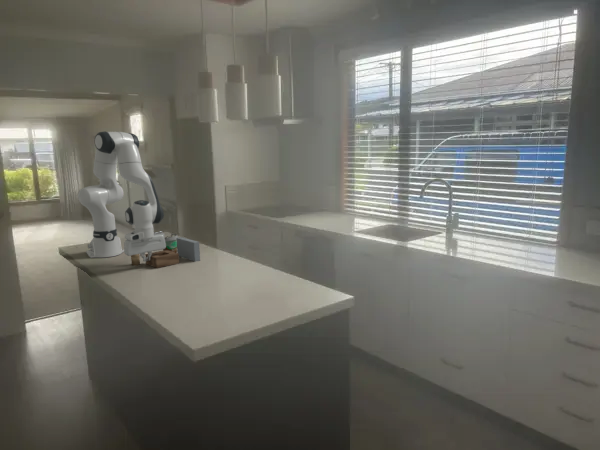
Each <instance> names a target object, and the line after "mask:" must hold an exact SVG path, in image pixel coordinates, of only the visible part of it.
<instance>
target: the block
mask: <svg viewBox="0 0 600 450" xmlns="http://www.w3.org/2000/svg"><path fill="white" fill-rule="evenodd" d="M144 256H145V257H147V256H148V253H145V255H144ZM145 264H146V265H149V266H151V267H154V268H156V269H158V268H159V269H160V268H164V267H168V266H173V265H177V264H180V256H179V254H178V253H175V252H172V251H169V250H164V251H163V250H158V251H153V252H152V255H151V257H150V261H146V262H145Z"/></svg>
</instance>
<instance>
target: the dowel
mask: <svg viewBox="0 0 600 450" xmlns="http://www.w3.org/2000/svg"><path fill="white" fill-rule="evenodd" d="M140 257H141V255H140V254H136V255H131V256H130V261H131V266H133V267H134V266H135V267H136V266H139V265H141V260H140V259H141V258H140Z"/></svg>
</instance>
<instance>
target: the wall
mask: <svg viewBox="0 0 600 450" xmlns="http://www.w3.org/2000/svg"><path fill="white" fill-rule="evenodd" d="M177 253H178V254H179V258H183V259H186V260H189V261H191V262H199V261H201V252H200V241H198V240H194V239H189V238H186V237H183V236H181V237H179V236H178V238H177Z"/></svg>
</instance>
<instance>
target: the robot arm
mask: <svg viewBox="0 0 600 450" xmlns="http://www.w3.org/2000/svg"><path fill="white" fill-rule="evenodd" d="M94 146H95V148H96V150H95V153H94V154H95V155H94V162H93V170H92V172H93V175H94V177H96V178H97V179H99V184H96V185H89V186H88V185H87V186H85V187H83V188H80V189H79V191H78V193H77V199H78V201H79V203H80V204H81V206H83V207H85V208H86V209H87V210H88V211H89V213H90V215H91V218H92V224H93V232H92V239H91V241H89V244H87V248H88V249H89V250H86V251H85V253H86V255H87V257H89V258H90V259H91V258H94V259H95V258H110V257H115V256H119V255H122V253H124V254H125V256H128V257H129V256H130V257H131V255H136V254H139V256H140V257H141V258H142V261H143V262H145V263H146V261H150V257H151V255H152V253H153V252H158V251H163V249H165V248H166V243H165V239H164V238H165V237H166V236H165V235H166V234H165V232H163V231H161V230H160V231H155V229H154V224H155V225H158V224H160V223H161V222H162V221H163V220H164V217H165V213H164V209H163V207H162V205H161V202H160V199H159V197H158V193H157V191H156V188H155V183H154V181H153V180H152V179H153V178H152V177H151V175H150V173H148V172H146V170H144V167H143V164H142V158H141V155H140V151H139V148H140V140H139V138H138V136H137V135H136V134H134V133H131V132H124V131H100V132H98V133H96V135H95V136H94ZM117 166H118V167H117ZM117 168H118V172H119V174H120V176H121V178H123V179H124V180H125V181H127V182H129V183H132V184H135V185H139V186H141V187H142V188H144V190H145V192H146V193H145V194H146V195H147V199H148V200H143V199H139V200H136V201H134V202H133V204H132V206H129V207H128V208H126V210H125V211H124V212H125V213H124V215H125V216H124V217H125V221H126V223H127V224H129V225H130V226H134V228H133V229H134V230H132V231H130V232H129V233H126V234H125V235H124V239H125V240H124V242H123V248H122V243H121V242H122V241H121V237H119V236H118V229H117V227H116V219H115V217H116V216H115V214H114V213H112V212H111V211H109V210H108V209H107V206H106V205H111V204H116V203H118V202H121V201H122V200H123V198H124V194H125V193H124V189H123V187H122V186H121V185H120V184H119V183H118V181H117ZM145 254H148V256H147V257H146V256H145Z"/></svg>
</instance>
